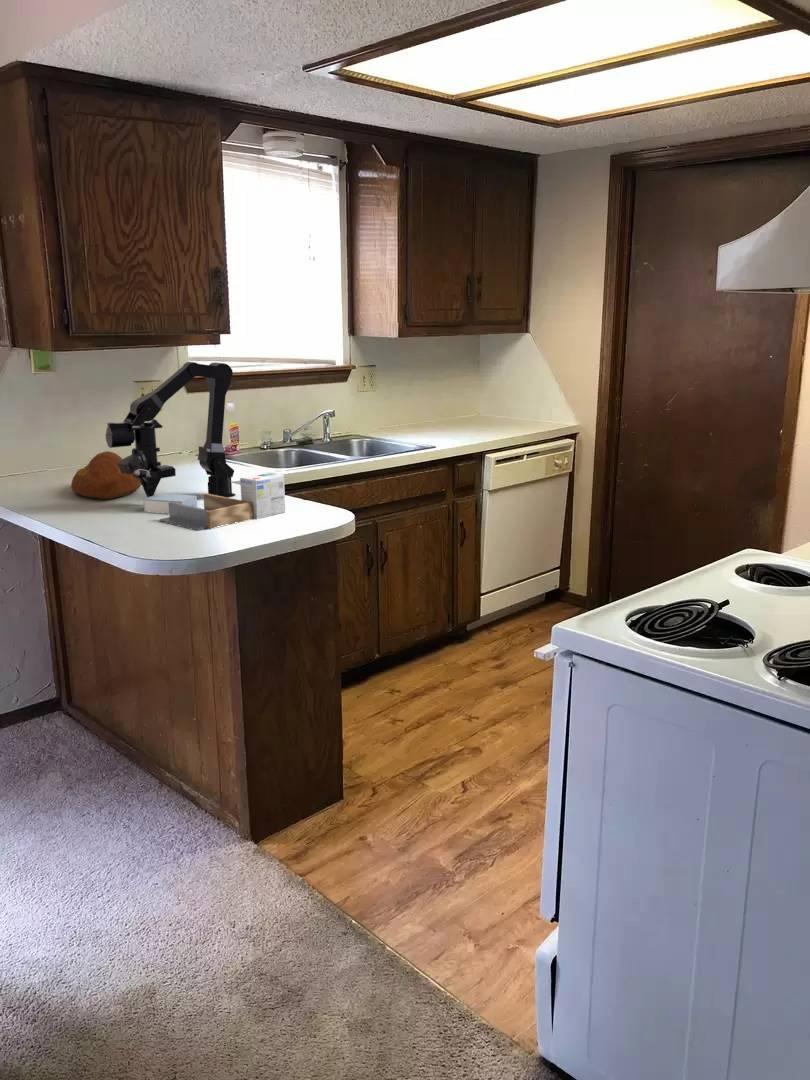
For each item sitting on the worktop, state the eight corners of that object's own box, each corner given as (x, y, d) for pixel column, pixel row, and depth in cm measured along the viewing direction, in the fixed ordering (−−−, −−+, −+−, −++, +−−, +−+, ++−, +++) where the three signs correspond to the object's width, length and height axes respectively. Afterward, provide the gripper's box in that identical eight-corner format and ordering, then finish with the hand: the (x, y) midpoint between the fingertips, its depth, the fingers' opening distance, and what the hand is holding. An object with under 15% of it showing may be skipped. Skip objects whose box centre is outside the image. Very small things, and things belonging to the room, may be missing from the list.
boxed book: (160, 507, 247) (159, 493, 246) (197, 509, 244) (196, 495, 243) (144, 513, 239) (143, 499, 238) (182, 515, 236) (181, 501, 235)
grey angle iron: (173, 518, 231) (172, 502, 230) (211, 527, 222) (210, 510, 221) (160, 521, 228) (158, 504, 227) (198, 530, 219) (197, 513, 217)
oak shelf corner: (207, 509, 243) (206, 493, 241) (253, 518, 231) (252, 502, 230) (165, 518, 232) (163, 501, 231) (210, 529, 220) (209, 511, 219)
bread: (146, 481, 284) (143, 443, 281) (138, 501, 253) (135, 459, 250) (79, 483, 280) (76, 445, 277) (63, 504, 249) (58, 462, 246)
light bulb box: (270, 509, 243) (268, 471, 240) (286, 512, 239) (285, 474, 236) (240, 515, 235) (238, 477, 232) (257, 519, 231) (255, 480, 228)
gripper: (101, 444, 243) (106, 498, 247) (140, 451, 231) (145, 507, 235) (135, 440, 251) (140, 492, 255) (174, 446, 239) (178, 501, 243)
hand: (150, 498), depth 247 cm, fingers closed
